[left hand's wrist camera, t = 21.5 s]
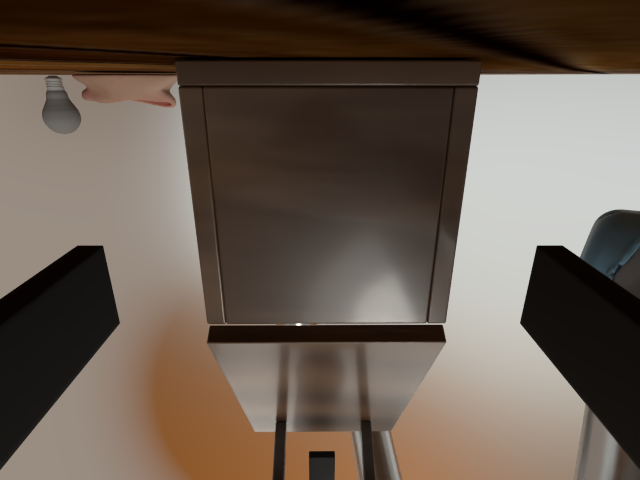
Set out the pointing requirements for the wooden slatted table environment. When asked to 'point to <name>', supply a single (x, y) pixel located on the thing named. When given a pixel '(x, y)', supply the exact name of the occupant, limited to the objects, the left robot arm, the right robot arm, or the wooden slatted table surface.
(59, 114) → the light bulb
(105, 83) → the anatomical model
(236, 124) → the chest
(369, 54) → the wooden slatted table surface
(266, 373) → the lid
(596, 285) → the left robot arm
